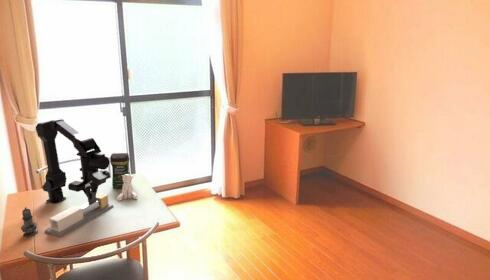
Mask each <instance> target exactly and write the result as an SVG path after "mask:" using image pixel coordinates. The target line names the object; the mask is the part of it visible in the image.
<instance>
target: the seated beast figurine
mask: <svg viewBox="0 0 490 280" xmlns="http://www.w3.org/2000/svg"><path fill="white" fill-rule="evenodd" d="M122 176H123V179H122V180H123V182H124V184H123V188H121V189H122V190H121V192H120V194H118V196H117V197H116V200H117V201H121V200H126V199H134V200H137V199H138V194H137V193H136V192H135V189H134V188H133V184H132V181H133V179H134V174H132V175H131V173H130V174H125V175H122Z"/></svg>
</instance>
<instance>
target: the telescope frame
mask: <svg viewBox="0 0 490 280" xmlns="http://www.w3.org/2000/svg"><path fill="white" fill-rule="evenodd" d="M96 199H100V204H101V206H99V207H98V208H96V209H94V210H92V211H90V212H88V213H87V214H85V215H83V210H82V208H79V207H80V206H76V205H73V206H71V207H70V208H68V209H66V210H65V209H64V211H61V212H60V213H57V214H56V215H53V216H51V217H49V218H48V219H49V224H50V226H49V227H47V228H45V229H44V232H45V233H47V234H49V235H53V236H55V237H58V238H62V237H63V236H65V235H66V234H68V233H70V232H72V231H73V230H75V229H77V228H79V227H80V226H82V225H84V224H86V223H88V222H90V221H91V220H93V219H94V218H96V217H99V216H100V215H102V214H103V213H105V212H107V211H108V210H111V209H112V208H114V204H111V203H109V196H108V194H105V193H101V192H100V193H96Z"/></svg>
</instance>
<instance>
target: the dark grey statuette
mask: <svg viewBox="0 0 490 280" xmlns="http://www.w3.org/2000/svg"><path fill="white" fill-rule="evenodd" d="M31 211H32V210H31V209H30V208H27V206H26V207H24V209H22V212H21V213H22V214H21V215H22V218H21V219H22V221H23V224H22V225H21V226H20V229H21V230H22V232H23V234H22V236H23V238H31V237H35V236H36V235H38V233H39V231H38V230H37V228H38V223H37V222H36V221H35V222H34V221H33V217H34V216H33V215H32V212H31Z"/></svg>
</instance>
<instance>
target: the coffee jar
mask: <svg viewBox="0 0 490 280" xmlns="http://www.w3.org/2000/svg"><path fill="white" fill-rule="evenodd" d="M109 157H110V159H109V161H110V163H109V164H110V165H111V169H112V178H111V179H112V183H111V184H112V187H113V188H114V189H122V188H123V184H124V182H123V180H122V179H123V176H122V175H125V174H130V175H131V172H130V164H129V163H130V160H131V159H130V155H129V153H128V152H121V153H120V152H119V153H118V152H116V153H115V152H113V153H111V155H110V156H109Z"/></svg>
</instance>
